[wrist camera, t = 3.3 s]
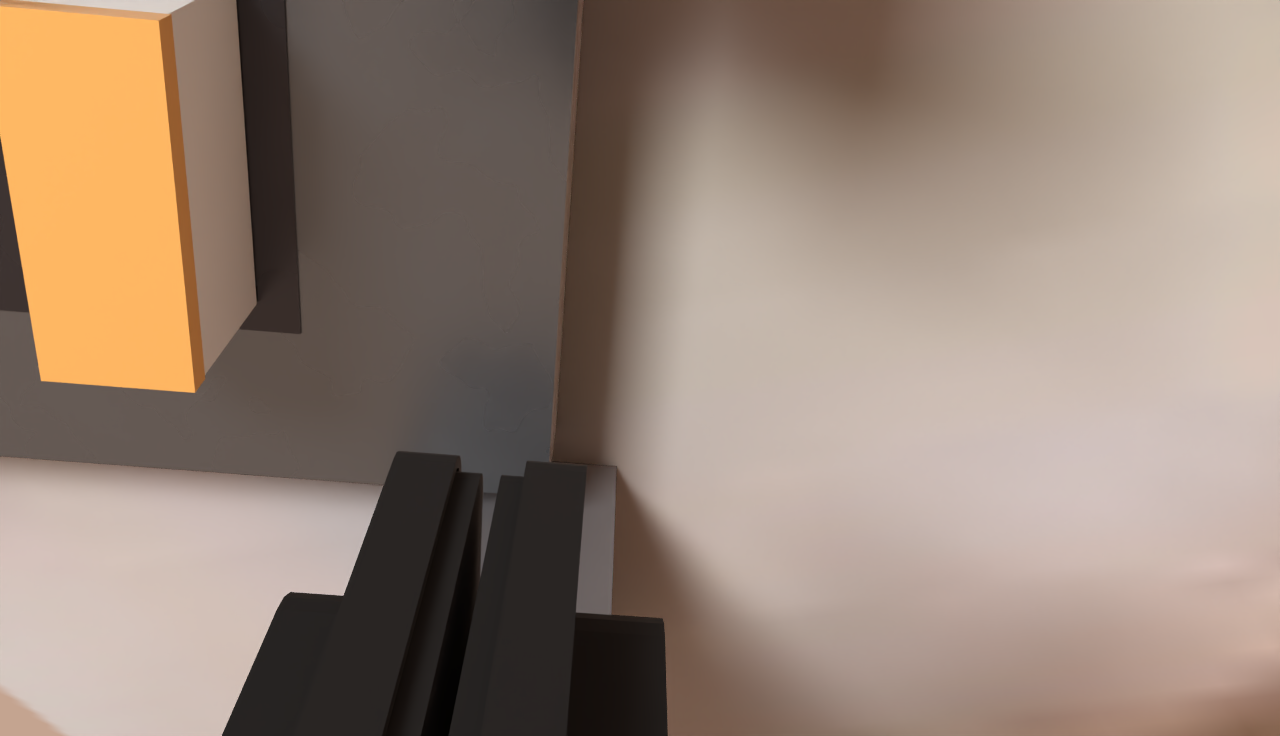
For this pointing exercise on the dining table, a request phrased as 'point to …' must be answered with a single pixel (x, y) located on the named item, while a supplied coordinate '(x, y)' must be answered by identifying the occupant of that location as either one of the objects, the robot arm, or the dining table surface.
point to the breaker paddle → (128, 185)
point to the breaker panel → (363, 255)
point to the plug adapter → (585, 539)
